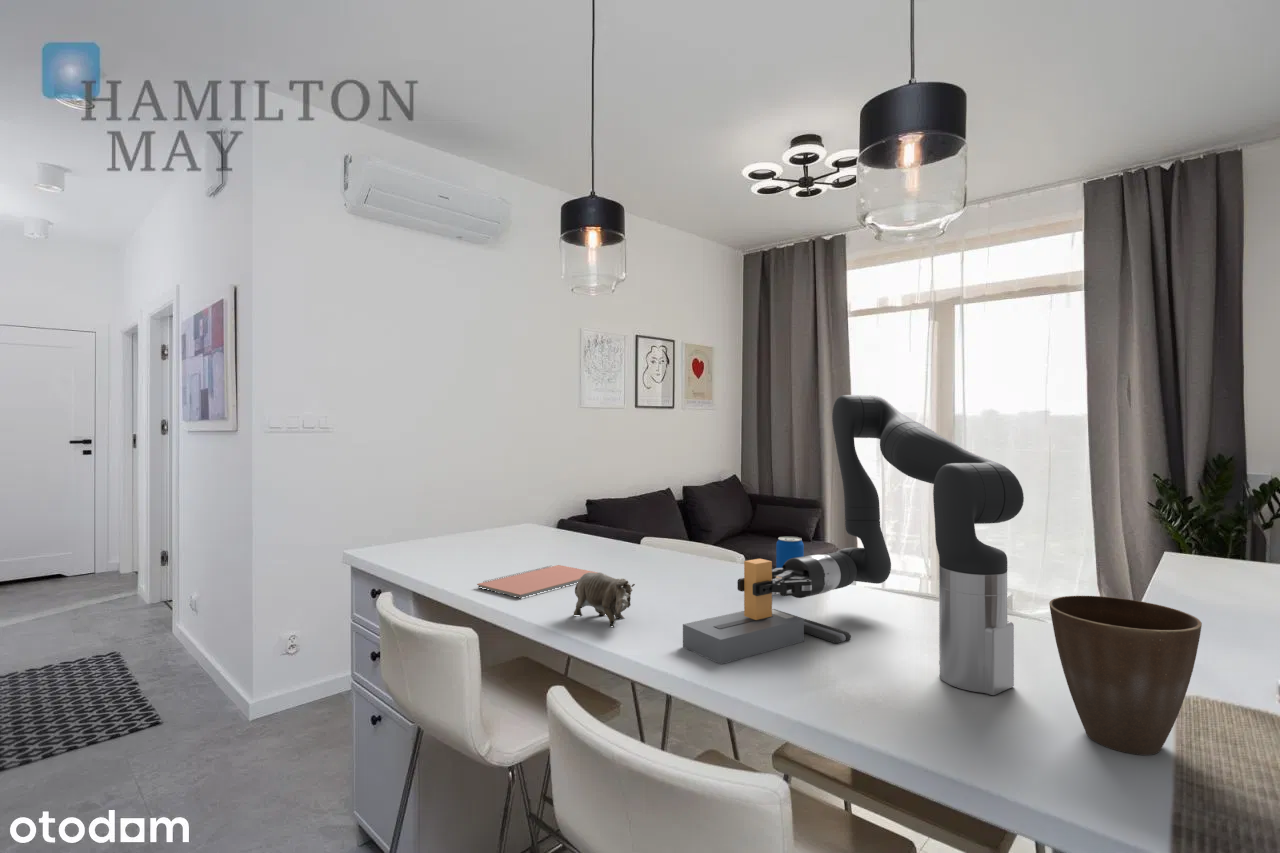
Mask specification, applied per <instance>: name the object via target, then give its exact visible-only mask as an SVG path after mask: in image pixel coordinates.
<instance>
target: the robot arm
mask: <svg viewBox="0 0 1280 853" xmlns="http://www.w3.org/2000/svg"><path fill="white" fill-rule="evenodd" d="M831 418H832V420H831V421H832V429H833V435H834V441H835V448H836V453H837V458H838V459H837V460H838V464H839V469H840V475H841V479H842V480H841V481H842V488H843V498H844V499H843V500H844V526H845V527H844V528H845V531H846V533H847V534H848V535H851V536H852V537H855V538H858V539H859V540H860V541H861V543H862V546H863V547H852V546H851V547H844V548H842V549H839V550H837V551H834V552H829V553H825V554H812V555H811V554H810V555H809V554H808V555H804V556H803V557H797V558H791V559H789V560H787V561H786V562H785V563H784V565H783V567H782V568H776V567H775V568H772V580H770V581H762V582H757V583H754V584H753V595H755V596H761V595H765V594H772V596H775V595H779V596H781V597H793V598H797V599H803V598H809V597H813V596H817V595H821V594H826V593H828V592H831V591H834V590H838V589H842V588H845V587H848V586H849V585H851V584H853V583H854V582H860V583H869V584H882V583H884V582H886V581H887V580H888V578H889V577H890V574H891V570H892V561H891V556H890V552H889V550H888V548H887V544H886V541H885V538H884V535H883V531H882V528H881V513H880V511H881V510H880V509H881V508H880V498H879V494H878V490H877V488H876V485H875V483H874V482H873V481H872V479H871V477H870V476H869V474H868V472H867V471H866V469H865V468H864V466H863V464H862V463H861V460H860V458H859V456H858V454H857V450H856V446H855V439H856V438H857V439H877V440H879V448H880V452H881V455H882V456H883V458H884V459H885V460H886V462H888V463H889V464H890V465H891V466H893V467H894V468H896V469H897V470H898V471H899V472H900V473H902V474H905V476H908V477H910V478H912V479H915V480H917V481H921V482H924V483H929V484H931V485H933V489H932V490H933V491H932V495H933V497H932V498H933V499H932V500H933V515H934V533H935V538H934V539H935V544H936V549H937V553H938V564H939V565H938V575H939V577H938V586H939V587H938V589H939V590H938V604H939V605H938V616H939V618H938V619H939V620H938V622H939V623H938V626H939V627H938V629H939V630H938V631H939V633H938V635H939V636H938V639H939V640H938V641H939V642H938V643H939V644H938V646H939V652H938V654H939V660H938V666H939V677H940V679H941V680H942V681H943V682H945V683H946V684H948V685H950V686H952V687H955V688H958V689H962V690H964V691H970V692H975V693H982V694H987V695H990V696H996V695H998V694H1000V693H1002V692H1004V691H1007V690H1009V689H1011V688H1013V687H1015V647H1014V646H1015V641H1014V639H1015V634H1014V632H1015V630H1014V629H1015V626H1014V622H1012V621H1008V557H1007V554H1006V552H1005V551H1003V550H1002V549H999V548H997V547H994V546H992V545H987V544H985V543H984V542H982V541H981V540H979V539H978V538H977V534H976V528H975V525H977V524H978V525H980V524H983V525H985V524H988V525H989V524H999V523H1004V522H1007V521H1010V520H1012V519H1014V518H1015V517H1016V516H1017V515H1019V513H1020V512H1021V511H1022V508H1023V505H1024V502H1025V501H1024V499H1025V498H1024V490H1023V487H1022V485H1021V483H1020V481H1019V479H1018V478H1017V477H1016V475H1015V473H1014V472H1013V471H1012V470H1010V469H1009V468H1008V467H1006V466H1005V465H1003V464H1002V463H998V462H996V461H993V460H990V459H988V458H985V457H983V456H980V455H978V454H976V453H972V452H970V451H968V450H966V449H965V448H963V447H961V446H960V445H958V444H956V443H954V442H952V440H951V441H950V440H949V439H947V438H945V437H943V436H942V435H940V434H938V433H937V432H935V431H934V430H932V429H930V428H928V427H927V426H925V425H923V423H919V422H917V421H916V420H914V419H912V418H910V417H909V416H907V415H905V414H903V413H901V412H900V411H899V410H898V409H897V408H895V406H893V405H892V404H891V403H890V402H888V400H886V399H885V398H883V397H881V396H878V395H872V394H871V395H865V394H864V395H862V394H861V395H859V394H857V395H856V394H844V395H840V396H838V397H837V398H836V400H835V401H834V405H833V407H832V416H831ZM737 590H738V591H739V592H744V577H741V578H737Z"/></svg>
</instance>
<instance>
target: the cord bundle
mask: <svg viewBox="0 0 1280 853" xmlns="http://www.w3.org/2000/svg"><path fill="white" fill-rule="evenodd" d="M773 609H774V610H777V611H780V612H783V613H786V614H789V615H792V616H796V617H799V618H802V619H804V634H807V635H811V636H812V637H813V636H814V637H816V638H819V639H822V640H825V641H828V642H831V643H834V644H840V642H841V643H844V642H845V641H850V640H851V639H852V635H851V633H850V632H848V631H845V630H842V629H838V628H835V627H833V626H828V625H826V624H823V623H820V622H816V621H814V620H810V619H808V618H803V617H800V616H798V615H795V614H791V613H788V612H785V611H781V610H779V609H775V608H773Z"/></svg>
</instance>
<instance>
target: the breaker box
mask: <svg viewBox="0 0 1280 853" xmlns="http://www.w3.org/2000/svg"><path fill="white" fill-rule="evenodd" d="M774 609H775V608H772V616H771V617H767V618H763V619H759V620H754V619H751V618H749V617H746V616H744V610H741V611H737V612H733V613H729V614H728V613H727V614H723V615H719V616H714V617H710V618H705V619H701V620H695V621H691V622H688V623H687V622H686V623H683V624H682V648H684V649H686V648H687V650H689V651H691V652H693V653H695V654H698V655H699V656H702V657H703V658H706V659H708V660H709V661H712V662H715V663H716V664H719V665H723V664H726V663H730V662H734V661H738V660H741V659H744V658H749V657H752V656H756V655H760V654H762V653H766V652H767V653H768V652H769V651H773V650H778V649H781V648H784V647H788V646H792V645H795V644H796V645H797V644H798V643H803V642H805V633H804V619H805V618H804V619H802V618H803V617H801V618H799V617H800V616H798V617H796V616H797V615H795V616H792V615H793V614H792V615H789V614H790V613H789V614H786V613H787V612H785V613H783V612H784V611H782V612H780V611H781V610H779V611H777V610H778V609H776V610H774Z"/></svg>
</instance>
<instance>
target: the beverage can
mask: <svg viewBox="0 0 1280 853" xmlns="http://www.w3.org/2000/svg"><path fill="white" fill-rule="evenodd" d="M777 539H778V540H777V541H776V544H775V546H776V547H775V550H776V551H775V553H776V554H775V556H776V559H775V560H776V561H775V565H776V567H775V568H782V567H783V565H784V563H785V562H786V561H787V560H789V559H791V558H797V557H803V556H805V553H804V551H805V545H804V542H803V540H802V537H798V536H779V537H778V538H777Z"/></svg>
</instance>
